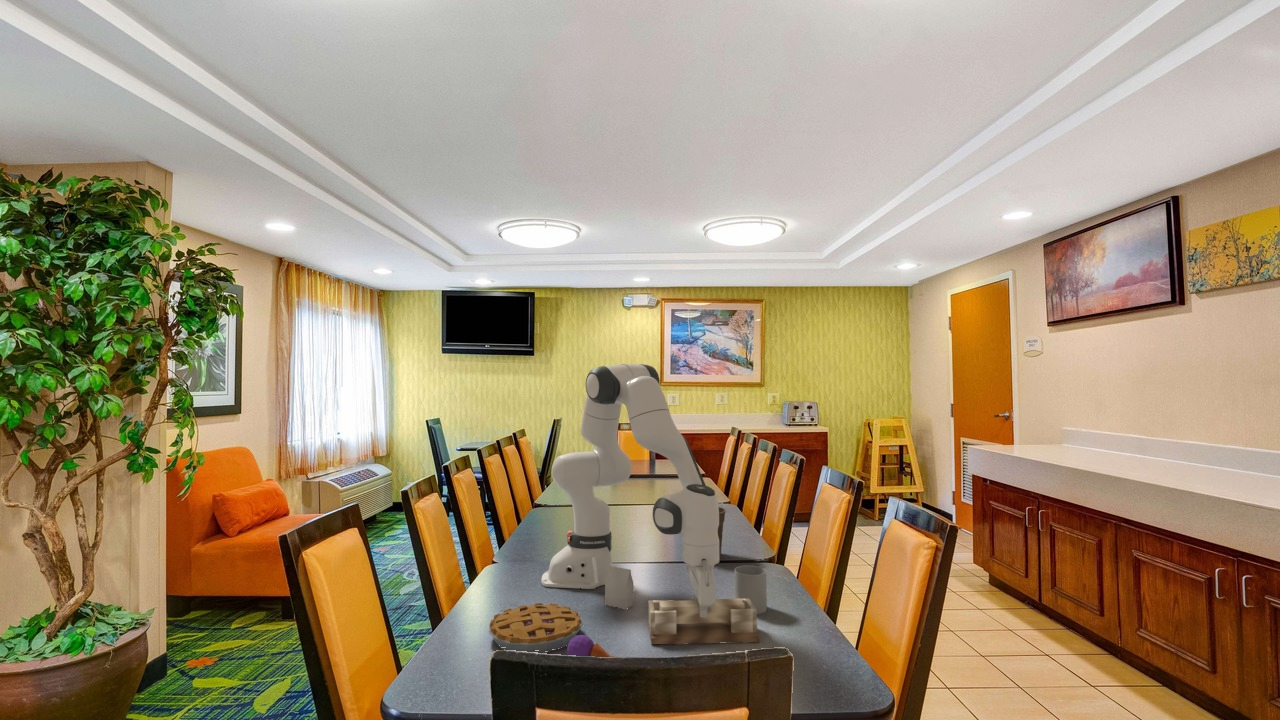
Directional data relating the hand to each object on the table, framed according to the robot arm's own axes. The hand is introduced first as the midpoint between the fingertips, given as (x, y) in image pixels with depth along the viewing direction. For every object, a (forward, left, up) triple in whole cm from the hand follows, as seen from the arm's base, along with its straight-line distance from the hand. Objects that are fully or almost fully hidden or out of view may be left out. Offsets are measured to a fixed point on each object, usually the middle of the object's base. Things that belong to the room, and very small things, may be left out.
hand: (701, 612), depth 142 cm
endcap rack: (0, 0, -5) cm, 5 cm away
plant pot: (+10, +64, -5) cm, 65 cm away
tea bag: (-20, +19, -5) cm, 28 cm away
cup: (+15, +15, -5) cm, 22 cm away
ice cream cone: (-22, -17, -5) cm, 28 cm away
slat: (0, 0, -2) cm, 2 cm away
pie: (-40, 0, -5) cm, 40 cm away
